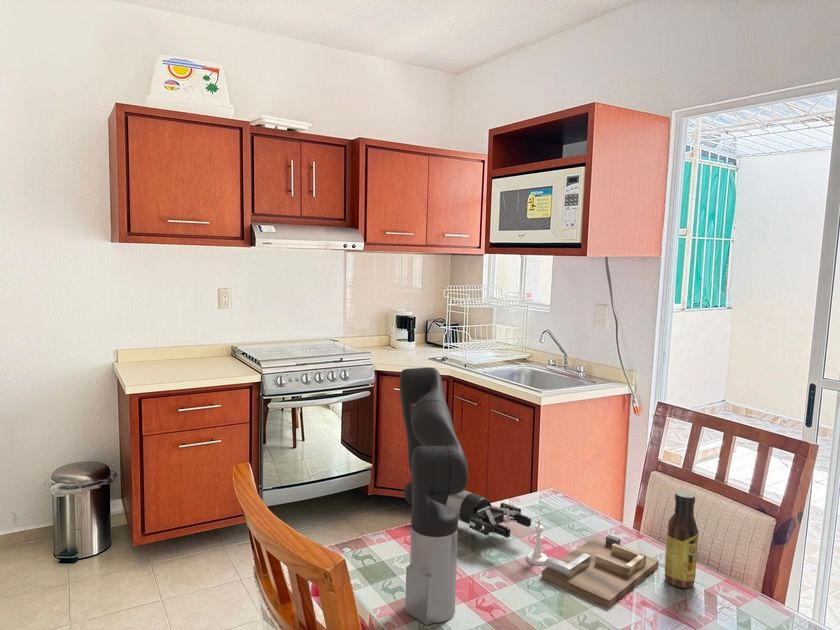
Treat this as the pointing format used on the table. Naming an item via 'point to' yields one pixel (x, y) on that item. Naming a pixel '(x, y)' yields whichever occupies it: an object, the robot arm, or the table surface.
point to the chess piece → (537, 547)
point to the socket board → (605, 570)
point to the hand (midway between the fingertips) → (520, 527)
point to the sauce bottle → (682, 543)
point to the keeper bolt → (568, 565)
